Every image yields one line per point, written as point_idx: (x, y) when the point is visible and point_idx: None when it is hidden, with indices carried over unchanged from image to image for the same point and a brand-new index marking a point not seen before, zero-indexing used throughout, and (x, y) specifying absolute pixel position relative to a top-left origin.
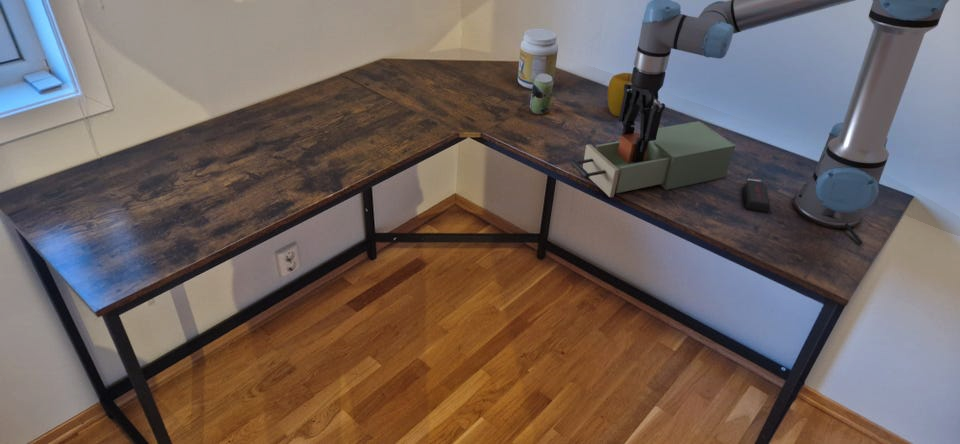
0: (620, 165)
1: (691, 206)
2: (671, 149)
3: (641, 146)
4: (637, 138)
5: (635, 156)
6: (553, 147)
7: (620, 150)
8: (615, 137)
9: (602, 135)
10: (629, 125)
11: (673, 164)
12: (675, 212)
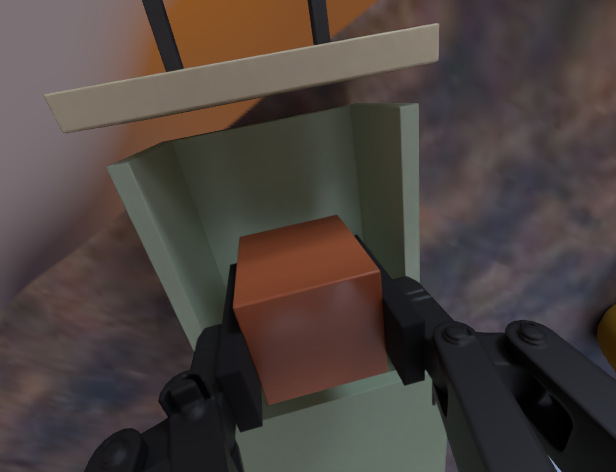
0: (349, 226)
1: (120, 359)
2: (270, 441)
3: (207, 355)
4: (201, 378)
5: (227, 286)
6: (578, 13)
7: (325, 231)
8: (525, 271)
9: (553, 238)
10: (432, 367)
11: None
12: (75, 310)
